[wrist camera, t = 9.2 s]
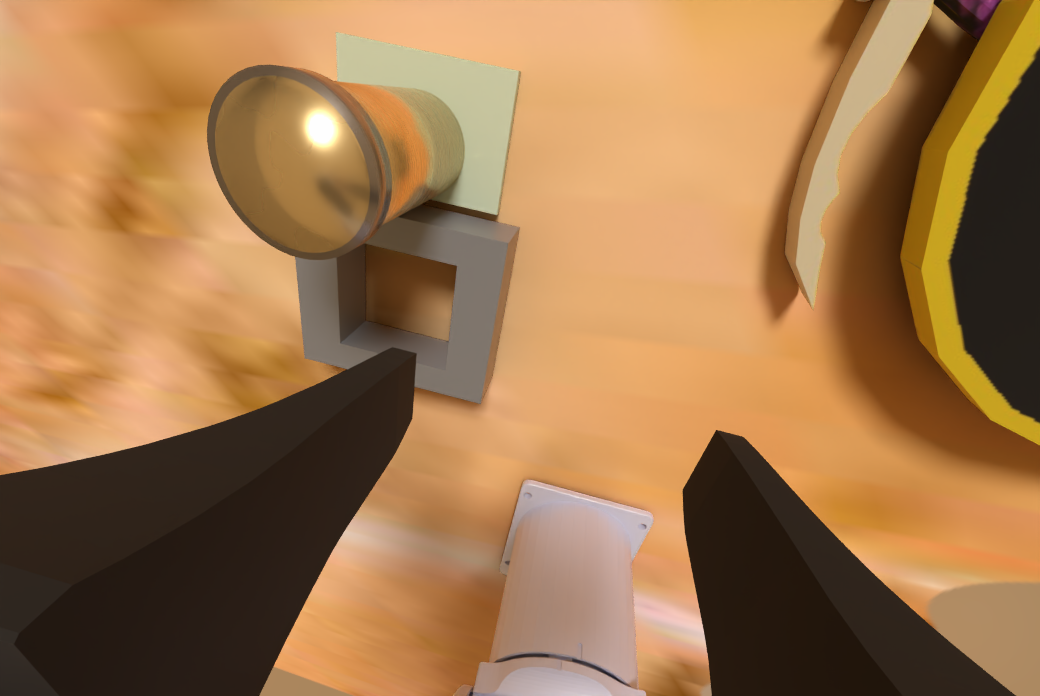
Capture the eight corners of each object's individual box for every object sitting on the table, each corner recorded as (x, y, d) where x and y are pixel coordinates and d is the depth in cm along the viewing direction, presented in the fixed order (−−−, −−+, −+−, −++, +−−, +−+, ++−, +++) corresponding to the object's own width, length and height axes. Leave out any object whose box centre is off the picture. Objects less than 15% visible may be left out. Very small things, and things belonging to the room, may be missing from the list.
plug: (463, 212, 18) (377, 276, 11) (366, 190, 19) (224, 239, 12) (475, 94, 16) (378, 86, 9) (365, 71, 16) (189, 46, 9)
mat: (498, 212, 18) (496, 215, 18) (345, 177, 19) (340, 178, 18) (520, 71, 16) (519, 70, 15) (341, 33, 16) (335, 31, 16)
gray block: (492, 375, 23) (480, 404, 21) (332, 334, 23) (304, 358, 21) (519, 227, 19) (508, 243, 16) (324, 181, 19) (289, 191, 17)
